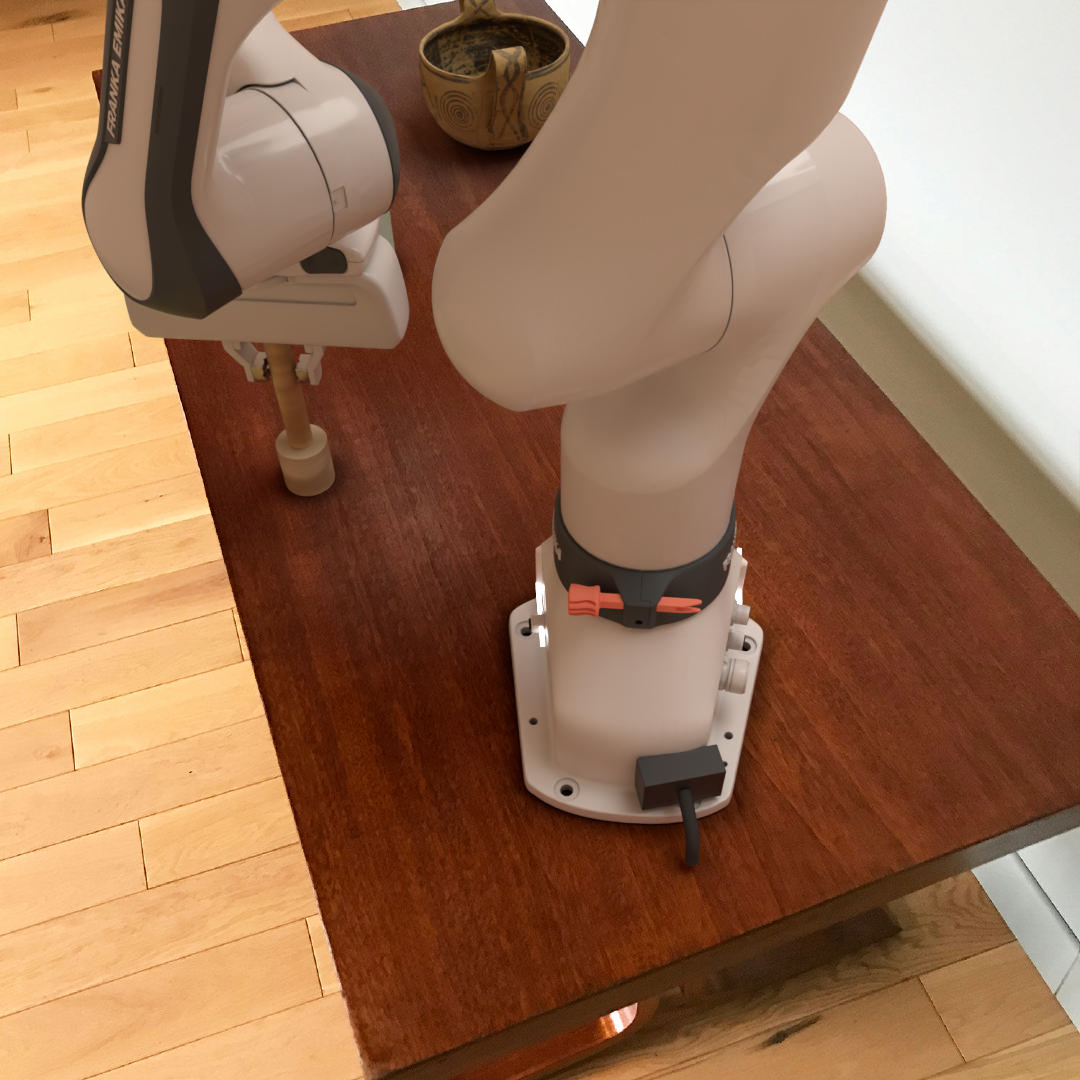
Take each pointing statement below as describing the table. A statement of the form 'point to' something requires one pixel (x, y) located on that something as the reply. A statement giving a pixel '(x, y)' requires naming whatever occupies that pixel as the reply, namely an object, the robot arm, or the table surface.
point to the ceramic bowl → (493, 75)
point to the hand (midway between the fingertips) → (285, 378)
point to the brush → (298, 429)
